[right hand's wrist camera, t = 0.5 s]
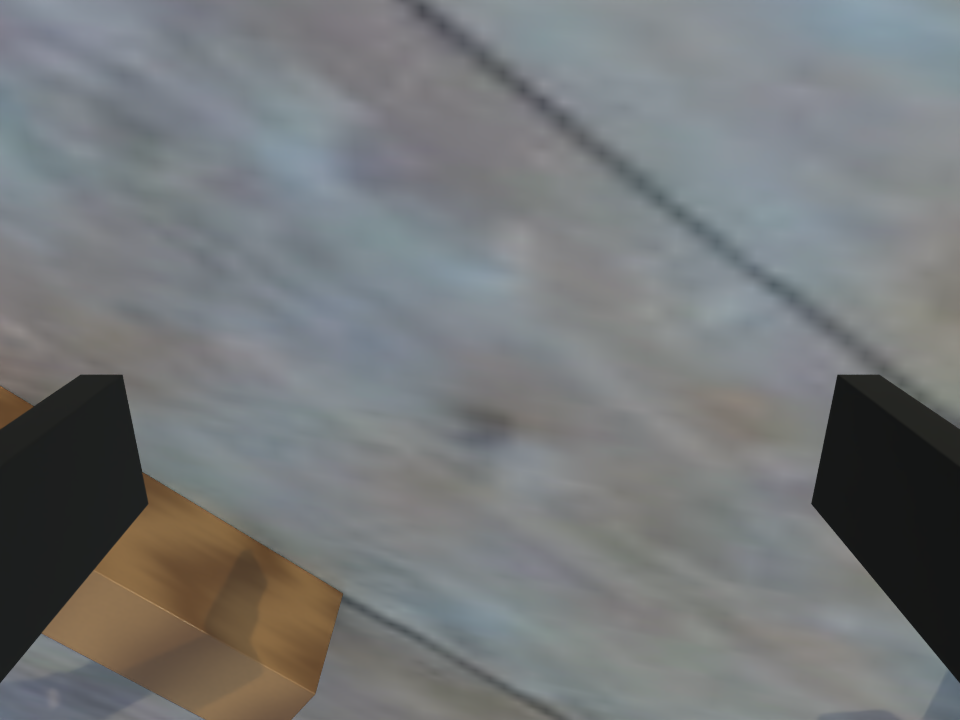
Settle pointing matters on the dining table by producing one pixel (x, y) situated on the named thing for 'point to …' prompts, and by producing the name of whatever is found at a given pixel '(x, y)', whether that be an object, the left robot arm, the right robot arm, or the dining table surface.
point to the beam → (199, 611)
